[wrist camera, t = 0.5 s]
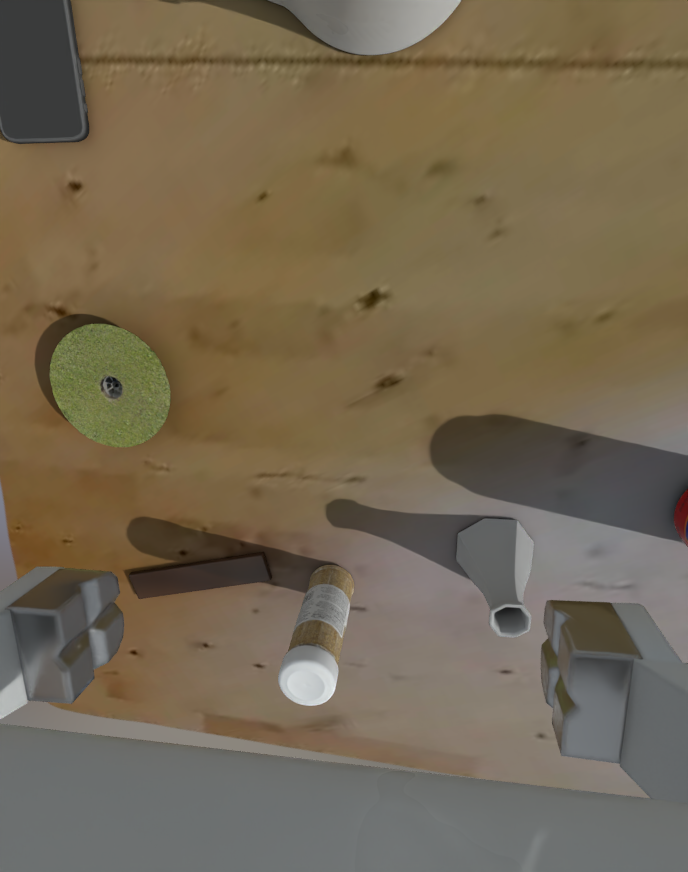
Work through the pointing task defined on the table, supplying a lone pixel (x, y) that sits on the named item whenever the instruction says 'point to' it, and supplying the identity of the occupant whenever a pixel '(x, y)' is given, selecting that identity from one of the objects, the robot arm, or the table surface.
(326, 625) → the sprinkles bottle
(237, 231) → the table surface
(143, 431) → the green flat disc
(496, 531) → the flask
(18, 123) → the smartphone
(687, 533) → the soda can
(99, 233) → the table surface
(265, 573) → the walnut strip
